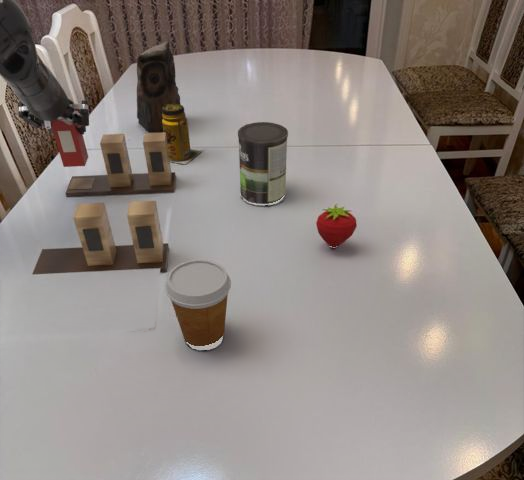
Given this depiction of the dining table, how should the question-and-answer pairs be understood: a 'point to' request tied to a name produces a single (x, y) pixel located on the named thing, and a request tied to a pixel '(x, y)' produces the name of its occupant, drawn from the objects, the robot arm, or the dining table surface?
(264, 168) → the coffee can
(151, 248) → the front word
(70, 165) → the red labeled block
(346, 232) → the strawberry
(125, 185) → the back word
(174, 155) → the condiment
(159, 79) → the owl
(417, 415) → the dining table surface
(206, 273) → the disposable coffee cup
